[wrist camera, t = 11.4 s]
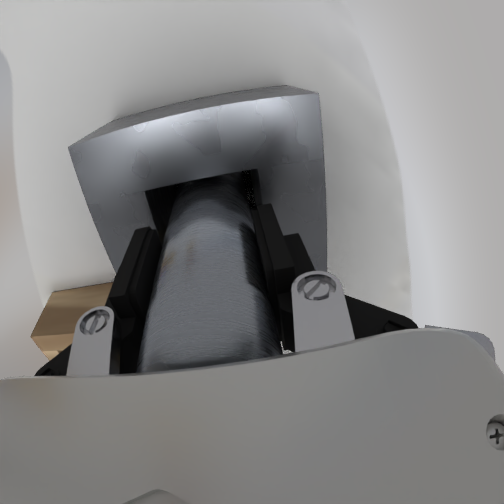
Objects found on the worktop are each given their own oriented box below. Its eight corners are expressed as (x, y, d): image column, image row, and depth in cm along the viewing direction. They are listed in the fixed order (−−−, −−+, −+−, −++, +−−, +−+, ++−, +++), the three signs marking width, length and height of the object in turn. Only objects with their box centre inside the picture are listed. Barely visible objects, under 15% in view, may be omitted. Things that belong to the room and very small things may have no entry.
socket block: (300, 236, 21) (326, 295, 16) (156, 262, 21) (142, 325, 16) (285, 85, 15) (318, 93, 10) (112, 121, 15) (68, 147, 10)
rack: (194, 392, 30) (196, 497, 20) (127, 397, 30) (117, 493, 20) (135, 278, 21) (99, 431, 11) (52, 292, 21) (-1, 417, 11)
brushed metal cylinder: (246, 201, 19) (301, 459, 6) (189, 212, 19) (165, 472, 6) (237, 145, 17) (299, 397, 4) (176, 158, 17) (94, 415, 4)
